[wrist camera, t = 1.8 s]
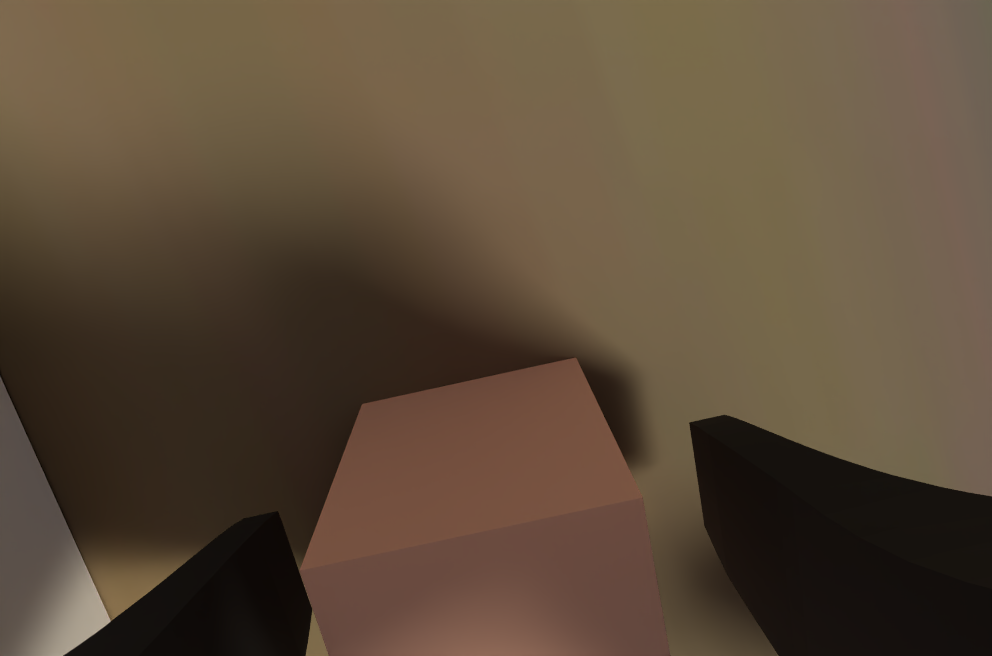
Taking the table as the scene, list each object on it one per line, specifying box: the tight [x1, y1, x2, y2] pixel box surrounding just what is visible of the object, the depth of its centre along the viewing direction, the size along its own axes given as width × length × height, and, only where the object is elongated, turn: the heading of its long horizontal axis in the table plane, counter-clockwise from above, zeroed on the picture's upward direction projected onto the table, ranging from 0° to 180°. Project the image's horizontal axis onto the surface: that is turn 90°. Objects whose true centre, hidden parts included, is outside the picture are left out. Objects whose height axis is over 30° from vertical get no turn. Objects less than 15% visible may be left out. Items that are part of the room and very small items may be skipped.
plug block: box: [300, 357, 670, 656], centre depth 11 cm, size 4×4×5 cm
